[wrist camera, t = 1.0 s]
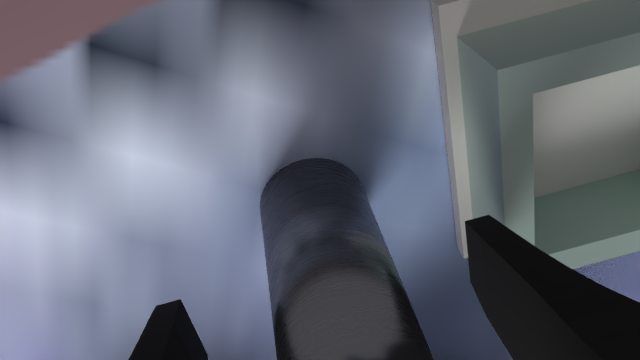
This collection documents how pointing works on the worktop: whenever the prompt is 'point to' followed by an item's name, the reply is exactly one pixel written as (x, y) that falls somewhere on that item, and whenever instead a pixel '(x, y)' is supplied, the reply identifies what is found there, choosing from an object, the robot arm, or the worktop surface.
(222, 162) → the worktop surface
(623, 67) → the charger
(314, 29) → the worktop surface
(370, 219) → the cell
